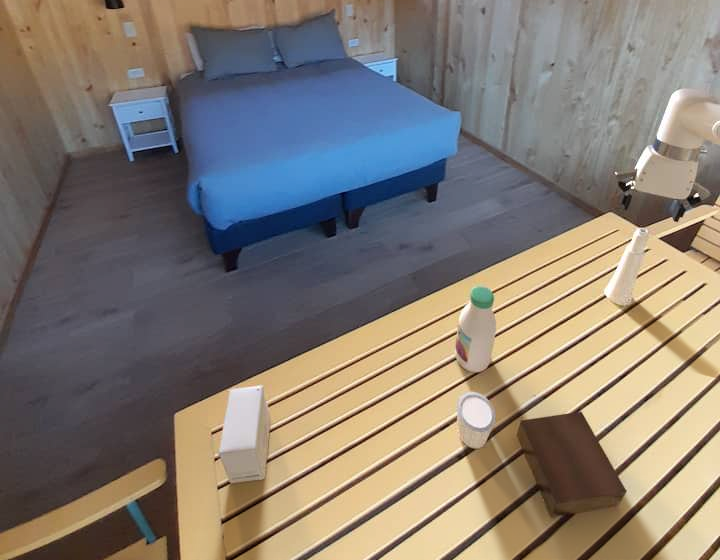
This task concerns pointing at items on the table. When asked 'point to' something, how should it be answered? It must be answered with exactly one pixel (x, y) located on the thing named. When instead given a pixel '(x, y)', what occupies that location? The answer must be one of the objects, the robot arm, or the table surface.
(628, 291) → the cosmetic bottle
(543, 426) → the block
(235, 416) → the cosmetics box
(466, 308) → the milk bottle
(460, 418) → the white yogurt cup
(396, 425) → the table surface
